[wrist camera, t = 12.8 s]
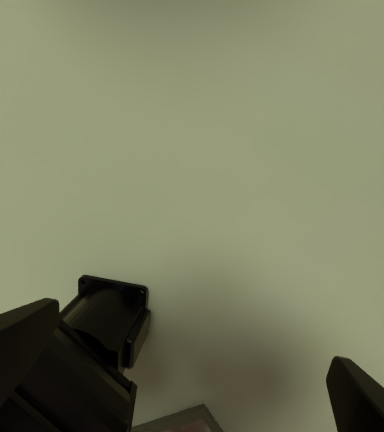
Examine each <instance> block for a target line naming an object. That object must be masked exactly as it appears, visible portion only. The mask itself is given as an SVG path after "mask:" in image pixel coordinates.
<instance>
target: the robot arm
mask: <svg viewBox="0 0 384 432" xmlns="http://www.w3.org/2000/svg"><path fill="white" fill-rule="evenodd" d="M83 280H85V281H86V282H84V281H83ZM140 290H142V291H143V292H144V293H141V292H140ZM147 296H148V289H147V288H146V287H145V286H142V285H137V284H131V283H126V282H120V281H115V280H110V279H104V278H99V277H94V276H88V275H83V276H81V277H80V278H79V280H78V295H77V296H76V297H75V298H74V299H73V300H72V301H71V302H70V303H69V304H68V305H67V306H66V307H65V308H64V309H63V310H62V311H61V312H60V313H59V302H58V300H56V299H51V298H44V299H41V300H38V301H35V302H33V303H30V304H27V305H24V306H21V307H19V308H16V309H13V310H10V311H8V312H5V313H2V314H0V432H131V427H132V420H133V413H134V406H135V399H136V391H137V385H136V384H135V383H134V382H132V381H131V382H130V381H129V380H128V379H127V378H126V377H125V376H124V375H122V374H123V372H124V370H125V368H127V369H131V368H132V367H133V366H134V364H135V361H136V359H137V357H138V354H139V352H140V350H141V347H142V345H143V343H144V341H145V338H146V336H147V333H148V324H149V313H150V312H149V310H148V309H146V308H147ZM326 384H327V389H328V393H329V397H330V401H331V406H332V410H333V414H334V418H335V422H336V426H337V431H338V432H384V388H383V387H382V386H381V385H380V384H379V383H377V382H376V381H375V380H374V379H373V378H372V377H370V376H369V375H368V374H367V373H366V372H365V371H363V370H362V369H361V368H360V367H359V366H358V365H356V364H355V363H354V362H353V361H352V360H350V359H348V358H344V357H339V356H335V357H334V358H333V359H332V362H331V365H330V368H329V371H328V374H327V377H326Z"/></svg>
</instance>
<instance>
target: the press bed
mask: <svg viewBox="0 0 384 432" xmlns="http://www.w3.org/2000/svg"><path fill="white" fill-rule="evenodd" d="M131 432H223V431H222V429H221V428H220V427H219V425H218V424H217V422H216V421H215V419H214V418H213V416H212V415H211V413H210V412H209V411H208V409H207V408H206V406H205V405H204V404H202V405H199V406H196V407H193V408H190V409H187V410H184V411H181V412H178V413H175V414H172V415H169V416H166V417H163V418H160V419H157V420H154V421H151V422H148V423H145V424H142V425H139V426H136V427H133V428H131Z"/></svg>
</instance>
